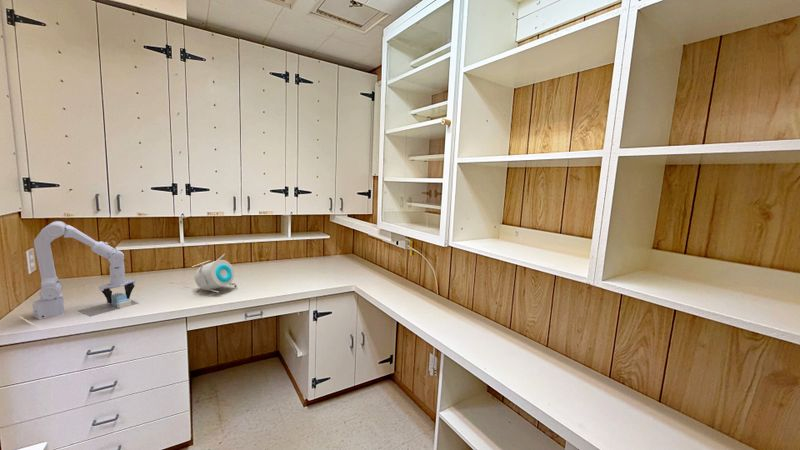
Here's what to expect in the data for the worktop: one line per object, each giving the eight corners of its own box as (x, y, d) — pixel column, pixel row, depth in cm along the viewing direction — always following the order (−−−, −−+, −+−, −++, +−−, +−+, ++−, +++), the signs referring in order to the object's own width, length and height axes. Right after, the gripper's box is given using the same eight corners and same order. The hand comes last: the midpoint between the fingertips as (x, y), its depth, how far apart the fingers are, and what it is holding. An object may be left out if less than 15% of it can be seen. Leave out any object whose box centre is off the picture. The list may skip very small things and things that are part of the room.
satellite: (210, 256, 210) (174, 268, 186) (233, 248, 204) (198, 259, 180) (224, 288, 212) (190, 305, 188) (247, 281, 206) (214, 297, 182)
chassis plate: (90, 318, 152) (89, 311, 152) (77, 312, 157) (76, 305, 157) (139, 305, 170) (139, 298, 170) (126, 300, 175) (126, 293, 175)
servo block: (119, 307, 163) (119, 297, 162) (109, 303, 167) (108, 292, 167) (129, 305, 167) (128, 294, 166) (118, 301, 171) (118, 290, 170)
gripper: (103, 279, 157) (105, 306, 159) (138, 272, 170) (139, 298, 172) (96, 277, 160) (97, 303, 162) (130, 270, 173) (132, 295, 175)
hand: (118, 300), depth 167 cm, fingers open, 7 cm apart
